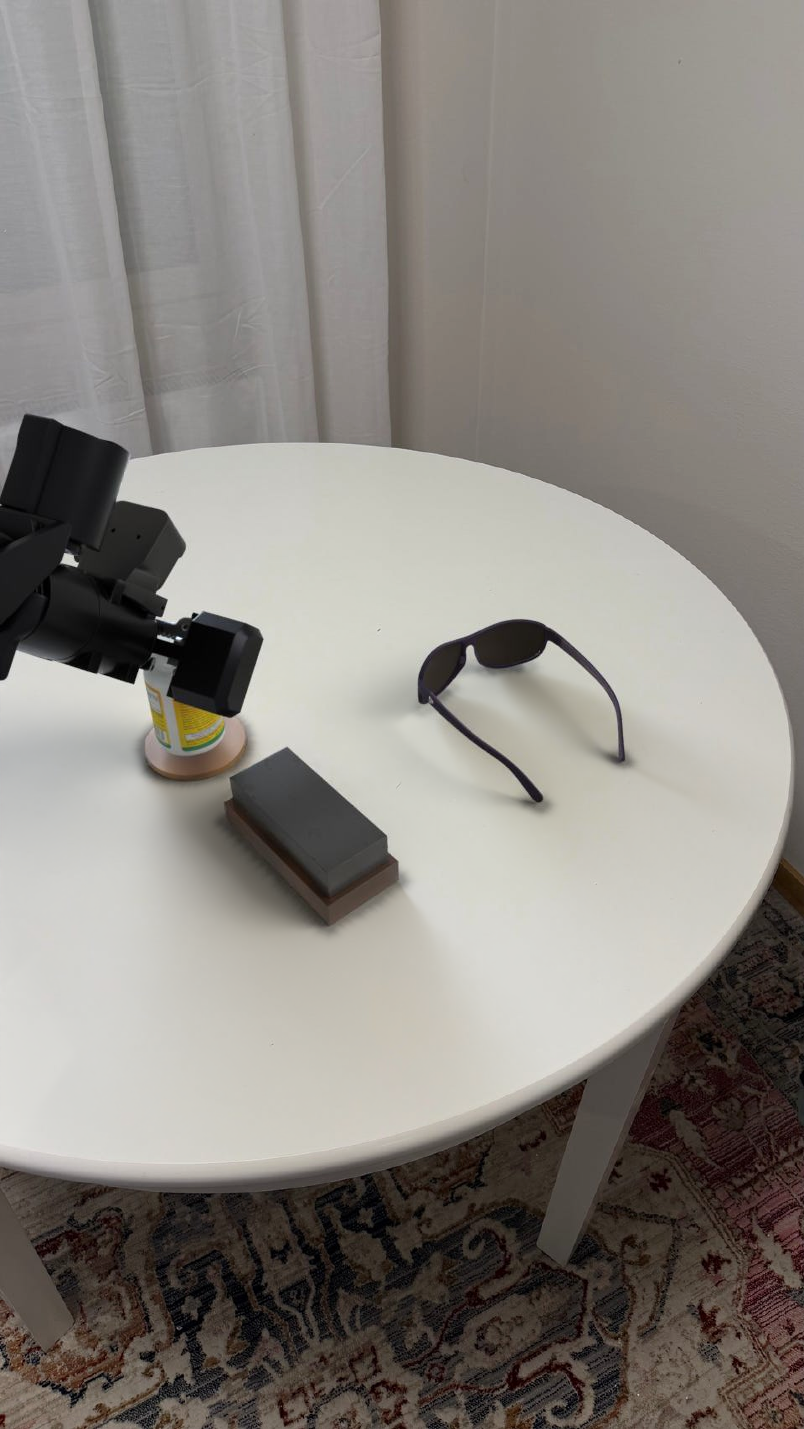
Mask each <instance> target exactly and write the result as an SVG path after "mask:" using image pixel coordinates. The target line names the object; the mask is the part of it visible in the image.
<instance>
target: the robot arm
mask: <svg viewBox="0 0 804 1429" xmlns="http://www.w3.org/2000/svg"><path fill="white" fill-rule="evenodd" d="M16 437H17V438H16V445H15V450H14V453H13V457H12V459H11V463H10V464H9V465H10V466H9V469H8V472H7V475H6V478H5V481H4V484H3V486H2V490H1V493H0V681H1V682H2V681H5V680H6V679H8V677H9V674H10V671H11V667H12V665H13V662H14V659H15V655H16V653H17V652H19V653H20V652H21V653H23V654H27V655H30V656H33V657H36V658H39V659H43V660H46V661H50V662H56V663H59V664H63V665H65V666H68V667H72V668H74V669H78V670H80V671H84V672H88V673H91V674H95V675H98V674H100V675H102V676H105V677H108V678H111V679H114V680H117V681H121V682H123V683H127V684H131V685H135V684H136V681H137V677H138V674H139V671H140V670H142V671H143V670H145V671H149V672H151V671H153V669H154V666H155V663H156V658H154V657H151V655H152V653H154V654H157V655H160V656H164V657H167V658H168V660H167V665H170V666H172V667H174V668H175V669H173V672H172V674H173V676H172V679H171V682H170V685H169V688H168V691H167V694H166V696H167V697H170V698H173V699H174V701H176V702H179V703H182V704H185V705H188V706H191V707H194V708H198V709H201V710H204V711H207V712H210V713H213V714H216V715H220V716H224V717H227V718H232V717H234V716H235V717H236V716H237V715H239V714H241V713H242V709H243V706H244V703H245V699H246V696H247V693H248V690H249V686H250V684H251V681H252V677H253V674H254V671H255V668H256V665H257V661H258V659H259V655H260V652H261V649H262V646H263V643H264V637H263V634H262V633H261V630H260V628H257V627H256V626H254V625H251V624H249V623H247V622H245V621H242V620H241V621H240V620H237V619H233V618H230V617H228V616H227V617H226V616H223V615H219V614H215V613H212V612H209V611H205V610H202V611H201V612H199V613H196V612H192V614H191V616H190V617H188V616H184V617H181V618H179V619H178V620H177V621H176V622H177V623H175V624H172V623H170V622H168V621H165V620H162V619H158V618H163V616H164V614H165V611H166V607H167V603H168V601H169V600H168V598H166V597H163V596H161V595H159V594H157V593H158V591H159V590H161V589H162V587H163V586H164V584H165V583H166V582H167V579H168V578H169V576H170V574H171V573H172V571H173V569H174V568H175V566H176V564H177V562H178V561H179V559H181V558H182V557H183V556H184V554H185V552H186V550H187V543H186V541H185V539H184V538H183V536H182V535H181V533H180V531H179V530H178V529H177V526H176V524H174V522H173V521H172V519H171V517H170V515H169V514H168V512H166V511H165V510H164V509H162V508H157V507H153V506H148V505H144V504H142V503H141V504H140V503H137V502H136V503H135V502H133V501H128V500H118V497H119V493H120V490H121V487H122V484H123V480H124V477H125V475H126V472H127V469H128V465H129V462H130V458H131V453H130V451H129V450H127V449H126V448H125V447H124V446H122V445H120V444H118V443H117V442H114V441H112V440H109V439H104V438H103V439H102V438H99V437H97V436H94V435H92V434H89V433H87V432H85V431H82V430H79V429H76V428H74V427H71V426H68V425H65V424H64V423H62V422H61V421H59V420H57V419H55V418H54V417H49V416H44V415H40V414H35V413H31V412H26V413H24V414H23V417H22V420H21V423H20V427H19V430H18V432H17V436H16ZM65 554H67V555H70V556H73V560H74V562H75V563H77V566H74V565H70V564H67V563H64V562H62V561H63V559H64V556H65ZM158 635H159V636H160V635H161V636H163V637H165V636H166V638H169V639H170V638H171V639H173V640H174V642H173V643H171V642H168V641H165V640H161V639H158V638H157V637H158ZM177 637H179V638H182V639H179V638H177Z"/></svg>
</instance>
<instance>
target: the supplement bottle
mask: <svg viewBox="0 0 804 1429" xmlns="http://www.w3.org/2000/svg"><path fill="white" fill-rule="evenodd" d="M177 622H178V621H171V622H169V623H172V624H175V623H177ZM157 638H158V639H161V640H165V641H168V642H171V643H173V642H174V640H173V639H171V638H170V639H169V638H166V636H165V637H163V636H161V635H160V636H159V635H158V637H157ZM177 638H179V637H177ZM179 639H182V638H179ZM151 657H154V658H156V663H155V666H154V669H153V671H151V672H149V671H145V670H142V675H143V681H144V685H145V691H146V695H147V699H148V705H149V709H150V713H151V718H152V725H153V727H154V729H155V734H156V738H157V741H158V743H159V745H160V746H161V747H162V748H163V749H164V750H165V751H167V752H169V753H171V754H174V755H178V756H193V755H197V754H201V753H205V752H207V751H209V750H211V749H213V748H214V747H215V746H217V745H218V744H219V743H220V741H221V740H222V738H223V736H224V734H225V722H224V716H220V715H216V714H213V713H210V712H207V711H204V710H201V709H198V708H194V707H191V706H188V705H185V704H182V703H179V702H176V701H174V699H173V698H170V697H167V696H166V694H167V691H168V688H169V685H170V682H171V679H172V676H173V674H172V672H173V669H175V668H174V667H172V666H170V665H167V660H168V658H167V657H164V656H160V655H157V654H154V653H152V655H151Z"/></svg>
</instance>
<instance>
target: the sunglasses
mask: <svg viewBox="0 0 804 1429" xmlns="http://www.w3.org/2000/svg"><path fill="white" fill-rule="evenodd" d="M548 642H550V643H553V645H555V646H557V647H559V648H560V649H561V650H562V651H563V652H565V653H566V654H567V655H569V656H570V658H572V659H573V660H574V661H575V662H577V664H579V665H580V666H581V667H582V668H583V669H584V670H585V671H586V672H588V673H589V675H591V676H592V677H593V678H594V679H595V681H597V682H598V684H599V685H600V686H601V687H602V688H603V690H604V691H605V693H606V694H607V695H608V697H609V699H610V701H611V703H612V705H613V707H614V711H615V715H616V720H617V721H616V723H617V744H618V759H619V762H622V763H623V762H625V761H626V752H625V741H624V740H625V738H624V728H623V716H622V710H621V705H620V702H619V699H618V696H617V694H616V693H615V692H614V690H613V688H612V687H611V685H610V684H609V682H608V681H607V679H606V678H605V677H604V676H603V674H601V672H600V671H599V670H598V669H597V668H596V666H594V664H593V663H592V662H591V661H590V660H589V659H588V658H587V657H586V656H584V654H582V653H581V652H580V651H579V650H578V649H577V648H576V647H575V646H573V644H571V643H570V642H569V641H568V640H567V639H566V638H564V637H563V636H562V635H561V634H560V633H558V632H557V631H555V630H554V629H553V628H551V627H548V626H547V625H545V624H544V623H542V622H541V621H537V620H533V619H527V618H513V619H507V620H502V621H498V622H496V623H493V624H491V625H488V626H486V627H484V628H482V629H479V630H477V631H475V632H473V633H471V634H468V635H465V636H462V637H459V638H456V639H453V640H450V641H446V642H444V643H441V644H439V645H438V646H437V647H435V648H434V649H432V650H431V651H430V653H429V654H428V655H427V656H426V658H425V659H424V661H423V663H422V665H421V666H420V669H419V672H418V677H417V702H418V703H419V704H422V705H427V704H429V705H430V706H431V707H432V708H433V710H435V711H436V712H437V713H438V714H439V715H440V716H442V717H443V718H444V720H446V721H447V722H448V724H450V725H451V726H452V727H453V728H454V729H456V730H457V731H458V732H459V733H460V734H462V735H463V736H464V737H465V738H466V739H468V740H469V741H471V743H472V744H475V745H476V746H477V747H478V748H480V749H481V750H482V751H484V752H485V753H487V754H488V755H490V756H491V757H493V758H494V759H495V760H497V761H498V762H499V763H501V764H502V765H503V766H505V768H507V769H508V770H509V771H510V772H511V774H512V775H513V776H514V777H515V779H517V781H519V783H520V785H521V786H522V787H523V789H524V790H525V791H526V793H527V794H528V795H529V797H530V798H531V800H533V801H534V802H535V803H538V804H540V803H542V802H543V801H544V795H543V794H542V791H540V790H539V788H538V787H537V786H536V785H535V783H533V781H531V779H530V778H529V777H528V776H527V775H526V773H524V772H523V771H522V769H521V768H519V766H517V765H516V764H515V763H514V762H513V761H511V759H509V758H508V757H507V756H505V755H504V754H503V753H501V752H500V751H499V750H497V749H496V748H494V747H493V746H492V745H490V744H489V743H488V742H486V741H485V740H483V739H482V738H481V737H479V736H477V735H476V734H475V733H474V732H473V731H472V730H470V729H469V728H468V727H467V726H466V725H465V724H464V722H462V721H461V720H460V719H459V718H458V717H457V716H456V715H454V714H453V713H452V712H451V711H450V710H449V709H448V708H447V707H446V706H445V705H444V704H443V702H441V700H440V699H439V698H438V696H439V695H440V694H442V693H443V692H444V691H445V690H446V689H447V688H448V687H449V686H450V685H451V683H452V682H454V680H455V679H456V677H457V676H458V675H459V674H460V673H461V671H462V670H463V669H464V667H465V666H466V663H467V649H468V647H471V646H472V648H473V654H474V657H475V659H476V661H477V663H478V664H479V665H480V666H482V667H484V668H488V669H494V670H495V669H497V670H499V669H507V668H512V667H515V666H519V665H524V664H526V663H529V662H532V661H534V660H536V659H538V658H539V657H540V656H541V655H542V654H543V653H544V651H545V649H546V647H547V644H548Z"/></svg>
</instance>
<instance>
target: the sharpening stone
mask: <svg viewBox="0 0 804 1429" xmlns="http://www.w3.org/2000/svg"><path fill="white" fill-rule="evenodd" d="M228 780H229V784H230V786H229V787H230V791H231V797H230V798H228V799H226V800H224V801H223V804H224V810H225V815H226V821H227V822H228V824H230V825H231V826H232V827H233V828H234V829H235V830H236V831H237V832H238V833H239V834H240V835H241V836H242V838H244V840H245V841H246V842H247V843H248V844H249V845H250V846H251V847H252V848H254V850H255V851H256V852H257V853H258V854H259V855H260V856H261V857H262V858H263V859H264V860H265V861H266V862H267V863H268V864H269V865H270V866H271V867H272V868H273V869H274V870H275V871H276V873H278V875H280V876H281V878H283V879H284V880H285V881H286V883H287V884H288V885H289V886H290V887H291V888H292V889H293V890H294V891H295V892H296V893H297V894H298V895H299V896H300V897H301V898H302V899H303V900H304V901H305V902H306V903H307V904H308V905H309V907H311V908H312V910H314V911H315V912H316V913H317V914H318V916H319V917H321V919H323V921H325V923H326V924H327V925H328V926H333V924H335V923H336V922H338V921H339V920H341V919H343V918H344V917H345V916H347V915H349V914H350V913H351V912H353V911H355V910H356V909H358V908H359V907H361V906H362V905H364V904H365V903H367V902H368V901H370V900H371V899H373V898H374V897H376V896H378V895H379V894H381V893H382V892H383V891H385V890H386V889H388V888H390V887H391V886H392V885H394V884H396V883H397V882H399V881H400V871H399V870H400V868H399V867H400V866H399V864H400V863H399V860H398V859H397V858H395V856H393V855H392V854H391V853H390V852H389V842H388V840H389V839H388V835H387V834H386V833H385V832H384V831H383V830H381V828H380V827H378V826H377V825H376V824H375V823H374V822H373V821H371V820H370V819H369V818H368V817H367V816H366V814H365V815H364V813H362V812H361V810H359V809H358V808H357V807H356V806H354V805H353V804H352V803H351V802H350V801H349V800H348V799H346V797H345V796H343V795H342V793H340V792H339V791H337V789H335V788H334V787H333V786H332V784H330V783H329V782H328V781H326V780H325V779H324V778H323V777H322V776H321V775H320V774H318V773H317V771H316V770H314V769H313V768H312V767H311V766H309V764H307V763H306V762H305V761H304V760H303V759H302V758H300V756H298V755H297V754H296V753H295V752H294V751H293V750H292V749H291V748H290V747H288V746H285V747H283V748H281V749H279V750H278V751H275V752H274V753H271V754H270V755H268V756H267V757H266V756H265V757H264V758H262V759H260V760H259V761H257V762H255V763H253V764H251V765H249V766H248V767H246V768H244V769H242V770H240V771H238V772H237V773H235V774H233V775H231V776H229V777H228Z"/></svg>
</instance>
